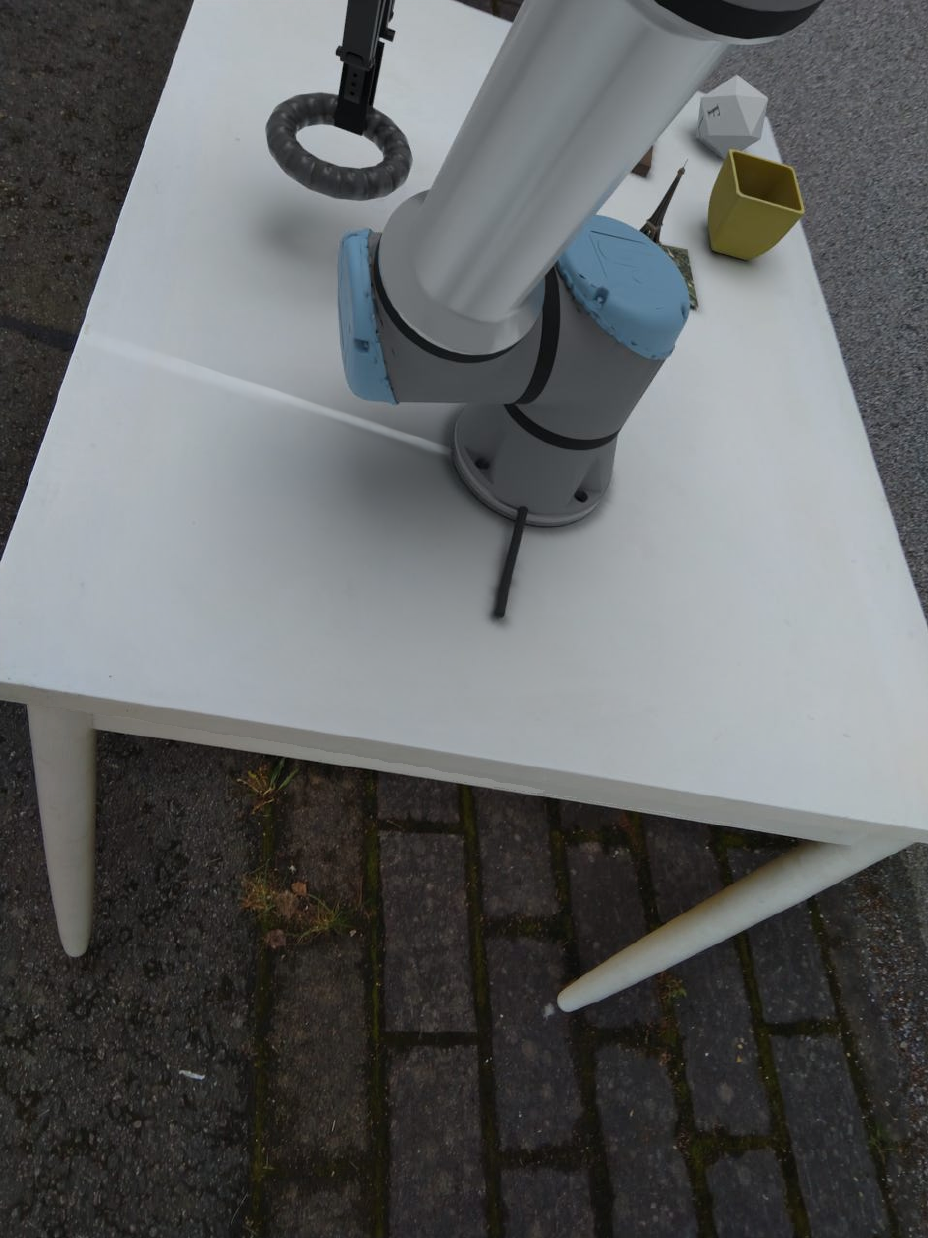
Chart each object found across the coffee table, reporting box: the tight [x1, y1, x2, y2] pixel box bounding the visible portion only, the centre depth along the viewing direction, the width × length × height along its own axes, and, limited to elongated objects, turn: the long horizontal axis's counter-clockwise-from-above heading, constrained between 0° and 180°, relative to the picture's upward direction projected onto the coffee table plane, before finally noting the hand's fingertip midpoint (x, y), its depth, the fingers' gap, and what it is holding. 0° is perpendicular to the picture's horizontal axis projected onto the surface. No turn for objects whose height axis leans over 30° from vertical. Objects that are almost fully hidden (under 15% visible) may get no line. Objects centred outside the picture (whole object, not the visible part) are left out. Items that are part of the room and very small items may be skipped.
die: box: [695, 74, 769, 161], centre depth 119 cm, size 8×9×10 cm
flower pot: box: [707, 149, 805, 261], centre depth 108 cm, size 9×9×9 cm
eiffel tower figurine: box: [638, 158, 699, 308], centre depth 98 cm, size 15×10×13 cm
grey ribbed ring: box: [264, 91, 414, 202], centre depth 82 cm, size 13×13×3 cm
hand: (353, 118), depth 85 cm, fingers closed on grey ribbed ring, 3 cm apart
